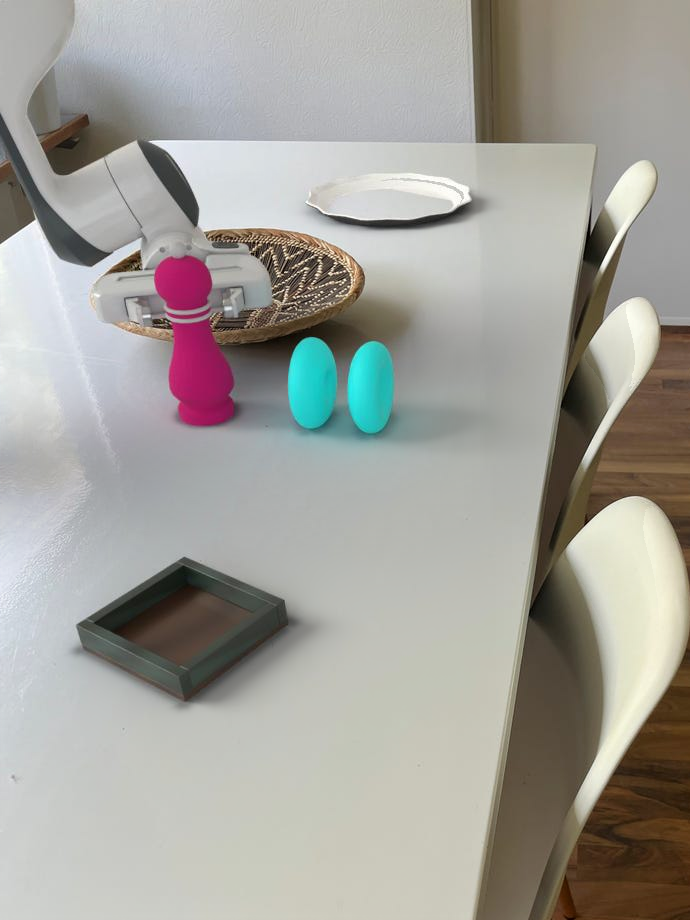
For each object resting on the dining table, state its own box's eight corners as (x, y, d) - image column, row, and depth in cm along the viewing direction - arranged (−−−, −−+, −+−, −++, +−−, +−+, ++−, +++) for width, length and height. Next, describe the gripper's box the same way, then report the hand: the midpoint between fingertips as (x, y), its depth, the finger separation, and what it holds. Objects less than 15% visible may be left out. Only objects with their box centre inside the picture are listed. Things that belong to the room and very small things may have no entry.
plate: (499, 198, 189) (499, 184, 188) (419, 243, 169) (418, 228, 167) (365, 178, 200) (365, 165, 198) (275, 218, 180) (273, 204, 178)
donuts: (316, 404, 122) (307, 322, 116) (398, 410, 120) (393, 328, 114) (290, 443, 114) (279, 358, 108) (377, 450, 113) (371, 364, 107)
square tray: (84, 653, 85) (75, 624, 83) (190, 583, 93) (184, 556, 91) (186, 706, 80) (178, 677, 78) (289, 628, 88) (285, 599, 86)
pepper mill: (197, 399, 123) (165, 228, 110) (250, 408, 121) (224, 234, 108) (164, 425, 117) (126, 248, 105) (219, 435, 116) (187, 256, 103)
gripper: (85, 257, 121) (85, 297, 111) (259, 242, 125) (274, 279, 115) (98, 309, 125) (98, 353, 114) (266, 293, 129) (281, 333, 119)
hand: (188, 316), depth 115 cm, fingers open, 8 cm apart
